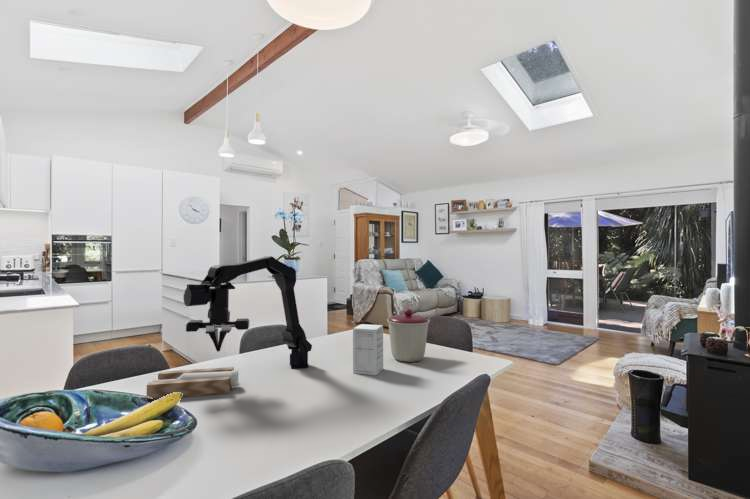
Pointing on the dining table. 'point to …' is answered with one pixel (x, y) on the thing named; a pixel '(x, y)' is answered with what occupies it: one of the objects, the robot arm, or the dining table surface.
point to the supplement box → (368, 349)
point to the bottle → (208, 376)
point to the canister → (408, 336)
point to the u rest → (189, 384)
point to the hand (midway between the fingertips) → (218, 351)
